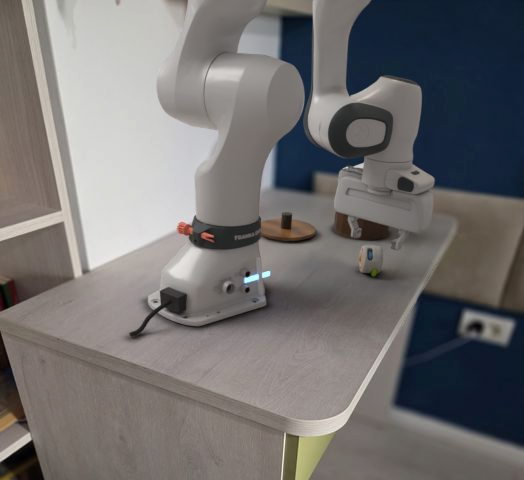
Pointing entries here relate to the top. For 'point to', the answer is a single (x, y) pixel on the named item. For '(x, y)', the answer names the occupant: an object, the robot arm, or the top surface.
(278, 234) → the lid
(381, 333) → the top surface
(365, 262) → the roller toy
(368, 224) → the round wooden container
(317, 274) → the top surface
